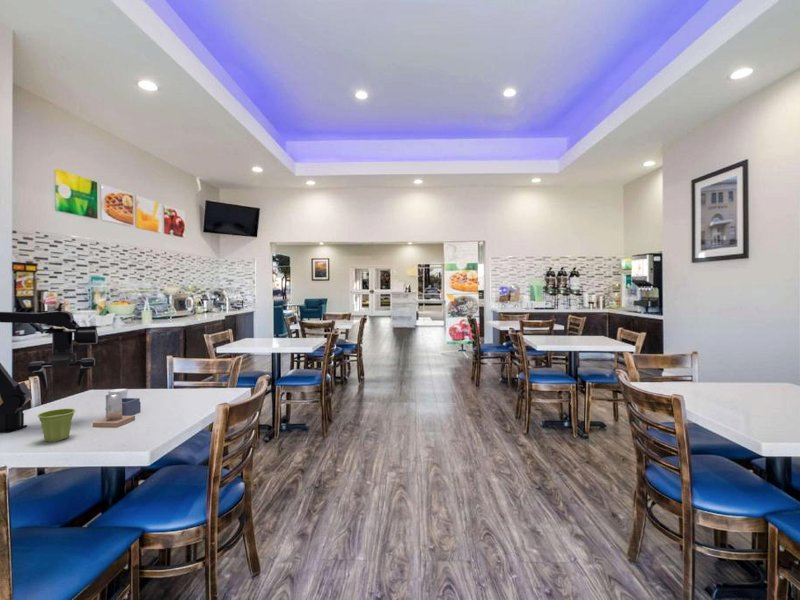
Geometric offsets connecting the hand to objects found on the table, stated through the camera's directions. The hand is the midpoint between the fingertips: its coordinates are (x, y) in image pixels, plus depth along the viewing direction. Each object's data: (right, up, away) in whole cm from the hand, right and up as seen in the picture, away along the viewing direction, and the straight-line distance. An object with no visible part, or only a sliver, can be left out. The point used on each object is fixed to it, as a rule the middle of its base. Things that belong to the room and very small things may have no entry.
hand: (62, 387), depth 149 cm
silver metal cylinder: (+19, -11, 0) cm, 22 cm away
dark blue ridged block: (+15, -13, +11) cm, 23 cm away
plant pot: (+12, -13, -17) cm, 24 cm away
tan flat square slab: (+19, -13, 0) cm, 23 cm away
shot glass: (+4, -13, +23) cm, 27 cm away
